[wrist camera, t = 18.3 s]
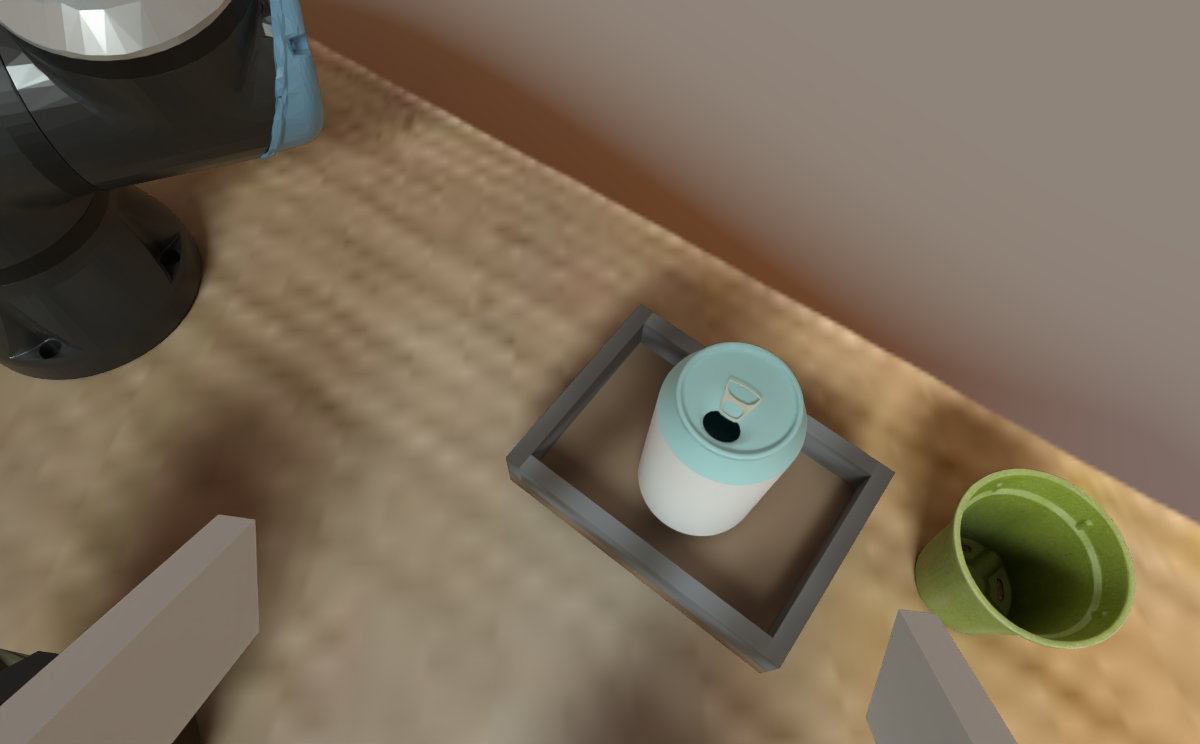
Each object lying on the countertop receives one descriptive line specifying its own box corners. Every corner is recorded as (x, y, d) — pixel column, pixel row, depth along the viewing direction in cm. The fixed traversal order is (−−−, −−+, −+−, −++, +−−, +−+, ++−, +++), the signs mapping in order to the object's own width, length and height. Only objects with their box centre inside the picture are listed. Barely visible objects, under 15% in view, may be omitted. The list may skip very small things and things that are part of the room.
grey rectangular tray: (513, 493, 46) (505, 457, 40) (631, 355, 51) (640, 304, 45) (747, 676, 42) (779, 667, 35) (850, 506, 47) (895, 472, 40)
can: (762, 536, 41) (832, 469, 30) (641, 541, 40) (669, 475, 30) (745, 423, 44) (803, 327, 33) (633, 427, 44) (655, 330, 33)
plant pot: (882, 501, 47) (946, 457, 39) (1024, 519, 47) (1116, 479, 39) (892, 651, 43) (964, 635, 35) (1047, 672, 43) (1155, 660, 35)
